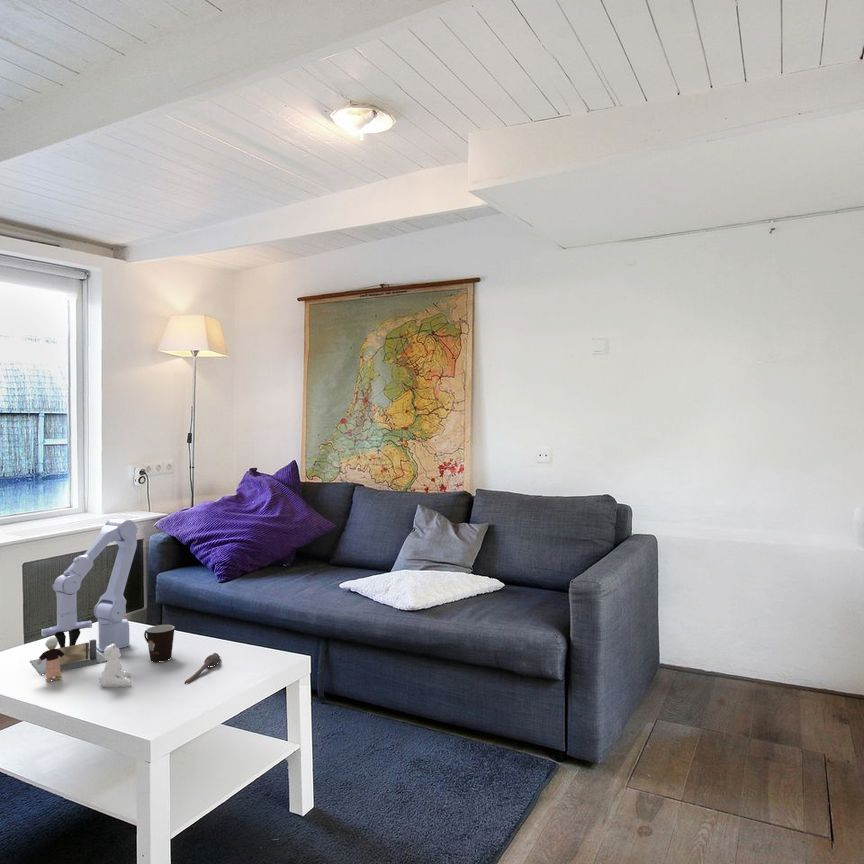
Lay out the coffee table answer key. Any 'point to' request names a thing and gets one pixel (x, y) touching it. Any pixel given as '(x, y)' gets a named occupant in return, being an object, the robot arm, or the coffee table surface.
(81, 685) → the coffee table surface
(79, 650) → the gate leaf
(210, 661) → the natural artifact
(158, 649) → the coffee mug
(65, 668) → the gate frame
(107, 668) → the sitting furry creature
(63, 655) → the grandmother figurine
